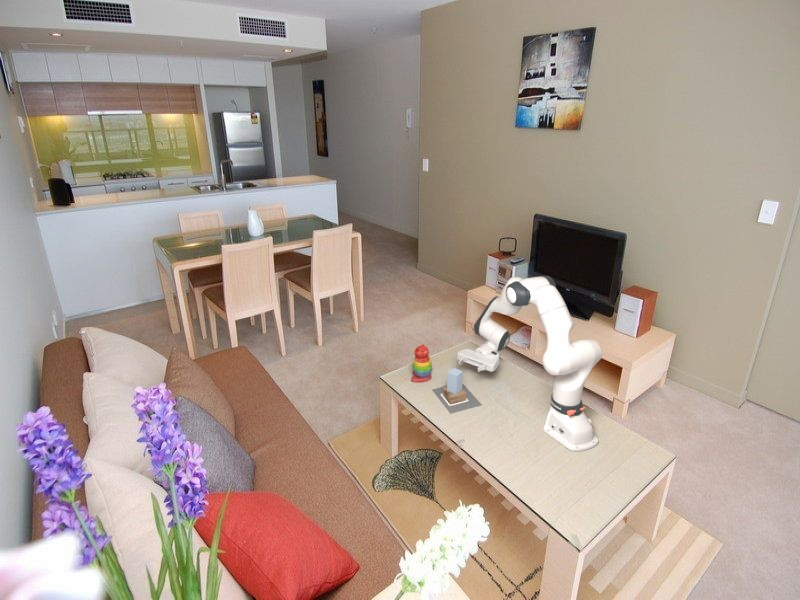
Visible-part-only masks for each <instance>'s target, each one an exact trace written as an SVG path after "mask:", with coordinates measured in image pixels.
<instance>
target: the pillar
mask: <svg viewBox="0 0 800 600" xmlns="http://www.w3.org/2000/svg"><path fill="white" fill-rule="evenodd" d="M463 374H464V371H462V370H460V369H458V368H455V367H453V368H451V369H450V370H448V371H447V374H446V376H447V378H446V379H447V382H446V383H447V385H446V386H447V391H448V392H451V393H453V394H455V395H457V394H458V393H459V392H460V391H461V390H462V383H463V377H464V375H463Z"/></svg>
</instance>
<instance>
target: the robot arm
mask: <svg viewBox="0 0 800 600" xmlns="http://www.w3.org/2000/svg"><path fill="white" fill-rule="evenodd" d="M531 304H532V305H533V306H535V308H536V310H537V312H538V315H539V318H540V320H541V323H542V325H543V328H544V330H545V335H546V348H545V349H546V350H545V352H544V353H543V356H542V359H541V360H542V367H543V369H544V370H545V371H546V372H547V373H548V374H549V375H550V376H555V378H554V380H553V381H554V382H553V388H552V393H551V394H550V395H551V396H550V407H549V410H548V413H547V417H546V418H545V421H544V426H543V428H542V431H543V432H544V433H545V434H547V435H548V436H550V437H551V439H554V440H555V441H557V442H558V443H560V444H561V445H562V446H564V448H566V449H568V450H569V451H571V452H583V451H587V450H590V449H592V448H594V447H596V446H598V444H599V439H598V438H597V436H596V435H595V434H594V429H593V428H594V427H593V426H592V420H591V419H590V418H588V417H587V416H586V413H585V412H584V411H586V407H585V406H583V401H582V395H583V389H584V386H585V384H586V381H587V379H588V377H589V376H590V373H591V372H592V370H593V368H594V367H595V366H596V364H597V363H598V362H599V361H601V359H602V356H603V351H602V348H601V346H600V343H598V342H597V341H596V340H594V339H591V338H587V339H585V338H584V339H578V340H576V341H575V340H574V341H571V339H570V333H571V331H572V330H573V328H574V326H575V324H574V321H573V318H572V316H571V313H570V312H569V309H568V306H567V304H566V302H565V300H564V298H563V297H562V295H561V293H560V292H559V291H558V289H557V285H556V282H555V281H554V279H553V278H552V277H551V276H549V275H539V276H534V277H526V278H522V277H520V276H513V277H511V278H509V279H508V280H507V282H506V283H505V285H504V287H503V289H502V290H501V293H500V295H499V296H497V295H495V296H494V297H493V298H491V300H490V301H489V302H488V303H487V305H486V306H485V308H484V310H483V311H482V313H481V314H480V315H479V317H478V318H477V319H476V321H475V322H474V324H473V330H474V333H475V334H477V335H479V336H481V337H482V338H483V339H484V340H486V341H485V342H484V343H482V344H481V345H479V346H478V347H477V348H475V350H473V349H470V348H462V349H461V350H459V351H458V352H457V353H456V358H457V360H458V365H460V366H463V365H464V363H466V364H469V365H472V366H474V367H476V368H475V371H476V372H478V373H480V372H482V371H488V372H491V373H492V372H494V371H496V370H497V368H498V367H499V365H500V353H501V352H502V351H503V350H504V349H505V348H506V347H507V346H508V344H510V340H511V334H510V330H508V329H506V328H505V327H504V326H502V325H500V324H499V323H497V322H496V321H495V320H493V319H492V315H493V314H494V313H498V314H500V315H501V314H502V315H505V316H513V315H517V314H518V313H519V312H520V311H521V310H522V309H523V307H525V306H529V305H531Z"/></svg>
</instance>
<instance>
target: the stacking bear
mask: <svg viewBox="0 0 800 600" xmlns="http://www.w3.org/2000/svg"><path fill="white" fill-rule="evenodd" d="M429 354H430V349H429V348H428V347H427V346H426V345H425V344H423V343H422V344H421V345H418V346H416V348H415V349H414V350H413V355H414V359H413V362H412V369H413V371H412V376H411V379H410V382H412V383H414V384H415V383H416V384H417V383H419V384H420V383H427V382H429V381H430V380H431V379H433V378H432V370H433V364H432V359H431V357H430V356H429Z"/></svg>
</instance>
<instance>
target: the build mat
mask: <svg viewBox="0 0 800 600" xmlns="http://www.w3.org/2000/svg"><path fill="white" fill-rule="evenodd" d="M444 387H447V385H444V386H441V387H440V386H439V387H437V388H432V389H431V391H432V392H433V393H434V395H435V396H436V397H437V399H438V400H439V401H440V402H441V404H442V405H443V406H444V408H445V409H446V410H447V411H448V413H449V414H451V415H452V414H455V413H459V412H463V411H466V410H470V409H473V408H474V409H475V408H477V407H482V406H483V404H482V403H481V402H480V401H479V400H478V399H477V397H476V396H474V394H473V393H472V392H471V391H470V390H469V388H468V387H467V386H466V385H465V384H464V383H463V382H462V389H463V390H464V391H465V392H466V401H462V402H458V403H454V404H450V403H449V402H448V401H447V400H446V398H445V397H444V396H443V388H444Z"/></svg>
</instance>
